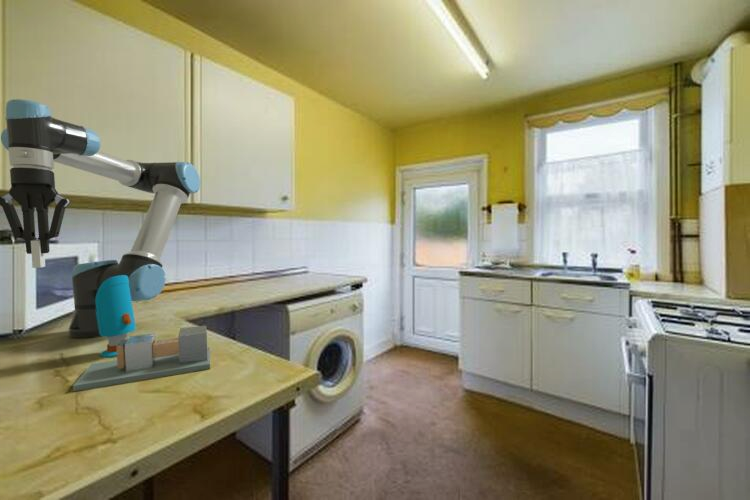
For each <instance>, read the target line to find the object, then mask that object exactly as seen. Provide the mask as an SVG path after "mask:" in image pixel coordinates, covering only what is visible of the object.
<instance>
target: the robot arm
mask: <svg viewBox="0 0 750 500" xmlns="http://www.w3.org/2000/svg"><path fill="white" fill-rule="evenodd" d="M5 123H6V128H5V129H4V130H2V131H1V133H0V141H1V145H2V146H3V147H4V148H5V150H7V151H8V159H9V165H10V167H11V166H12V167H11V168H10V169H9V173H10V174H9V175H10V176H9V177H10V186H11V187H10V188H9V190H8V193H7V194H5V195H2V196H0V206H1V208H2V209H3V212H4V215H5V217H6V220H7V222H8V224H9V227H10V230H11V232H12V234H13V237H14V238H16V239H17V238H18V239H21V240H24V242H25V252H26V254H28V255H31V264H32V266H31V268H32V269H37V268H38V269H39V268H40V269H41V268H45V267H46V256H45V254H49V253H50V240H51V239H54V238H58V237H59V236H60V232H61V228H62V223H63V219H64V214H65V211H66V208H68V206H69V205H70V204H71V200H70V199H67V198H65V197H62V196H61V195H59V192H58V191H57V190H56V183H55V182H56V181H55V172H54V171H52V170H54V168H55V166H54V164H55V163H57V164H60V165H63V166H67V167H72V168H75V169H77V170H82V171H84V172H87V173H91V174H95V175H98V176H101V177H103V178H108V179H111V180H114V181H118V182H119V183H120V185H122V186H125V187H128V188H131V189H135V190H138V191H142V192H146V193H149V194H154V196H153V199H152V201H151V203H150V206H149V208H148V210H147V213H146V215H145V217H144V220H143V221H142V224H141V227H140V229H139V231H138V233H137V236H136V238H135V241H134V242H133V245H132V247H131V249H130V251H129V252H127V253H123V255H122V257H121V259H120V261H119V262H118V260H117V259H110V260H108V259H107V260H100V261H91V262H85V263H77V264H75V265H74V266H73V268H72V277H71V279H72V289H73V290H72V292H73V301H74V313H73V315H72V318H71V320H70V324H69V327H68V337H70V338H75V339H85V338H86V339H87V338H95V337H96V338H97V337H101V336H100V334H99V329H98V322H97V316H96V310H95V303H94V296H93V290H94V289H99V287H100V285H101V284H102V283H103V282H104V281H105V280H106V279H108V278H110V277H114V276H119V275H127V276H128V280H129V286H130V295H131V301H132V302H141V301H142V302H143V301H144V302H145V301H150V300H153V299H155V298H156V297H157V296H158V295H160V293H161V292H163V289H164V288H165V285H166V280H167V279H166V272H165V270H164V268H163V263H162V262H161V257H162V254H163V252H164V248H165V246H166V244H167V241H168V238H169V236H170V234H171V231H172V228H173V225H174V223H175V220H176V218H177V215H178V213H179V210H180V207H181V205H182V204H185V203H187V201H188V199H189V197H190V194H195V193H198V192H199V190H200V188H201V178H200V174H199V172H198V170H197V169H196V168H195V166H194V165H193V164H191V163H190V162H186V161H179V160H178V161H175V162H169V161H168V162H141V161H139V162H138V161H136V160H133V159H126V160H125V159H122V158H119V157H117V156H114V155H110V154H108V153H107V152H102V151H101V150H100V149H101V139H100V136H99V135H98V134H97V132H96V131H94V130H92V129H90V128H87V127H85V126H83V125H78V124H74V123H71V122H68V121H64V120H60V119H57V118H55V117H52V113H51V109H50V107H49V106H47V105H45V104H44V103H42V102H41V103H40V102H37V101H34V100H27V99H22V98H21V99H19V98H18V99H17V98H16V99H10V100H8V101H6V107H5ZM54 162H55V163H54ZM14 201H16V203H18V204H19V205H20V210H21V211H22V223H21V220H20V218H19V215H18V213H17V210H16V207H15V206H14ZM54 201H55V202H54ZM53 202H54V203H55V208H54V211H53V216H52V220H51V222H50V225H49V206H51V204H53ZM35 211H36V215H37V230H38V237H36V225H35V222H36V221H35ZM22 224H23V225H22ZM49 226H50V227H49ZM37 239H38V240H37Z"/></svg>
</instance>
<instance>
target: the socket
mask: <svg viewBox="0 0 750 500" xmlns="http://www.w3.org/2000/svg"><path fill="white" fill-rule="evenodd" d="M207 330H208V329H207V325H199V326H198V325H197V326H190V327H182V328H179V333H178V336H177V338H178V343H179V365H181V364H188V363H194V362H200V361H207V348H208V335H207V334H208V333H207Z"/></svg>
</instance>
